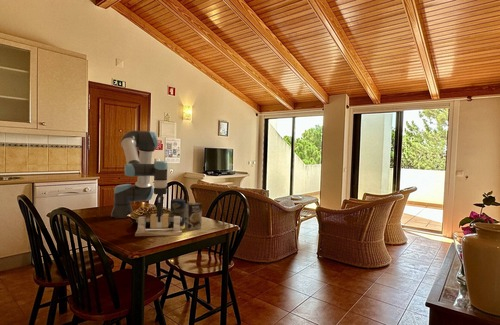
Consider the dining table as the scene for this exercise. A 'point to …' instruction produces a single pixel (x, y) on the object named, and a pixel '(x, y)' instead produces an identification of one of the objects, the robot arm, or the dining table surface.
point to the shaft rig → (157, 232)
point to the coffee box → (193, 216)
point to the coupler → (154, 221)
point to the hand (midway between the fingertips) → (159, 225)
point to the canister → (177, 209)
